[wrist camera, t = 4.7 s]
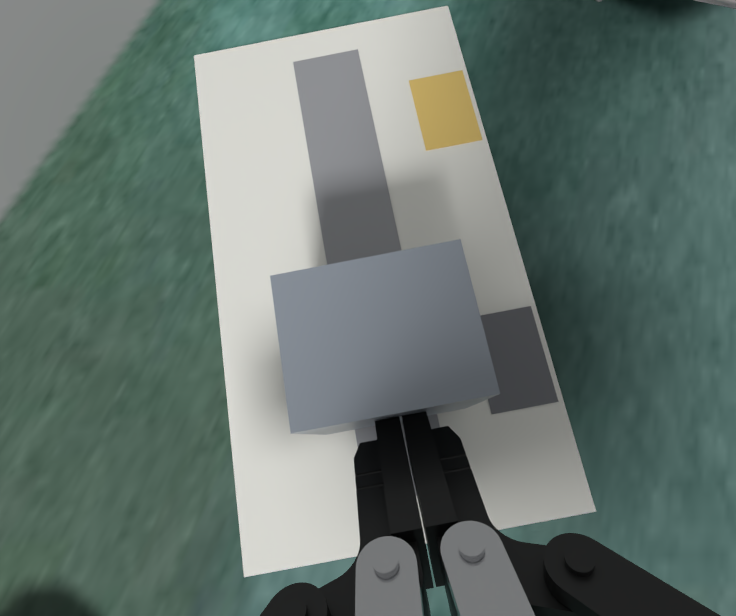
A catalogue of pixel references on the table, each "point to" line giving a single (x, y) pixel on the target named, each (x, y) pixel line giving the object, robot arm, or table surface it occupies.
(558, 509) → the switch housing
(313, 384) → the switch tab
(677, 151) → the table surface
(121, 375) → the table surface
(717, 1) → the mobile phone
